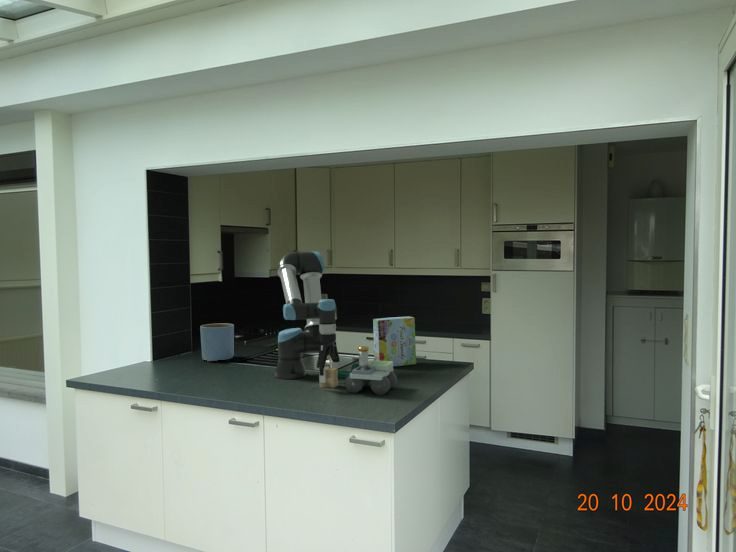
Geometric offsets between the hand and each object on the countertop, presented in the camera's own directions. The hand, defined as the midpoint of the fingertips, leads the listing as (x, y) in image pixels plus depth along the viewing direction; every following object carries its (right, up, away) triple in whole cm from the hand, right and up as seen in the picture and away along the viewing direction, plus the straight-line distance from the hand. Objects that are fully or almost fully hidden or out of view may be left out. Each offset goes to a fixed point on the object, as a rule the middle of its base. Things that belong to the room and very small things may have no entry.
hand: (328, 379), depth 250 cm
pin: (+16, +5, -13) cm, 22 cm away
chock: (0, -3, +1) cm, 3 cm away
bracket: (+9, -3, +18) cm, 21 cm away
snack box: (+33, -1, +44) cm, 55 cm away
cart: (+20, -3, -9) cm, 22 cm away
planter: (-70, -2, +69) cm, 98 cm away
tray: (+23, +6, -6) cm, 24 cm away
